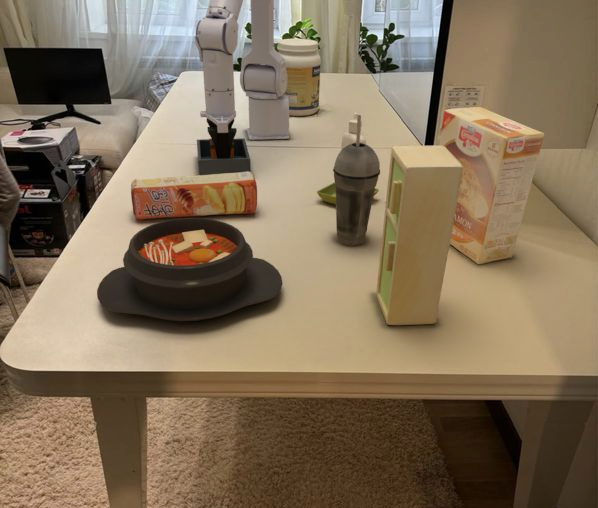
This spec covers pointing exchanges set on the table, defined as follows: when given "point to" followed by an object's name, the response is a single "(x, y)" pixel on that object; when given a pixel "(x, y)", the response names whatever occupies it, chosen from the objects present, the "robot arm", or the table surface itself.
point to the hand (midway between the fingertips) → (223, 158)
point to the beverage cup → (355, 189)
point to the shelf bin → (223, 165)
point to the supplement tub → (301, 75)
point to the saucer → (332, 193)
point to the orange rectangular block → (213, 152)
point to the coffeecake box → (489, 179)
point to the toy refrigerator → (417, 232)
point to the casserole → (188, 272)
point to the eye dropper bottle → (352, 133)
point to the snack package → (194, 195)
